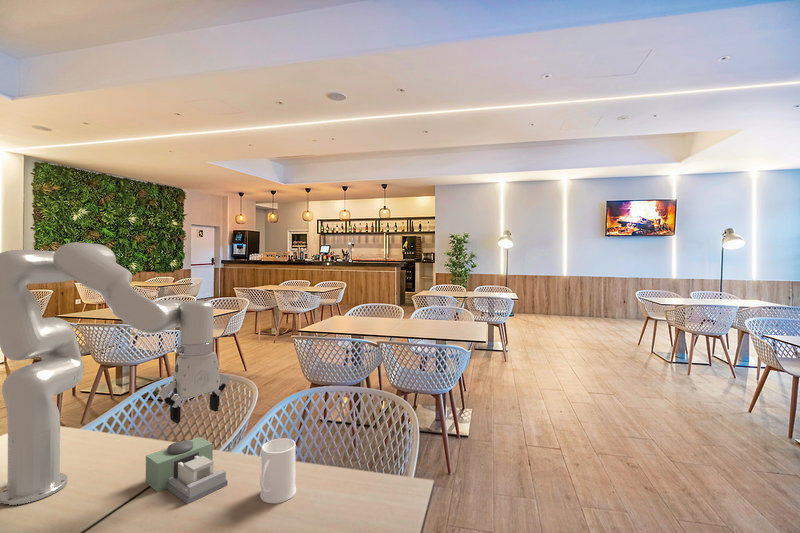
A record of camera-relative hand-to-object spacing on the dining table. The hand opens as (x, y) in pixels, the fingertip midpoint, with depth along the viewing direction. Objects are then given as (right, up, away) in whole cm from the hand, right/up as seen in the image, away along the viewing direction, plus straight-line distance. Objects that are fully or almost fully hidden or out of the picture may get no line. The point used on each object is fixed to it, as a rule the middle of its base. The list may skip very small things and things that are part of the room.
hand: (195, 415), depth 100 cm
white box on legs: (0, -17, 0) cm, 17 cm away
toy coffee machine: (-2, -18, +2) cm, 18 cm away
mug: (+22, -18, -5) cm, 29 cm away
